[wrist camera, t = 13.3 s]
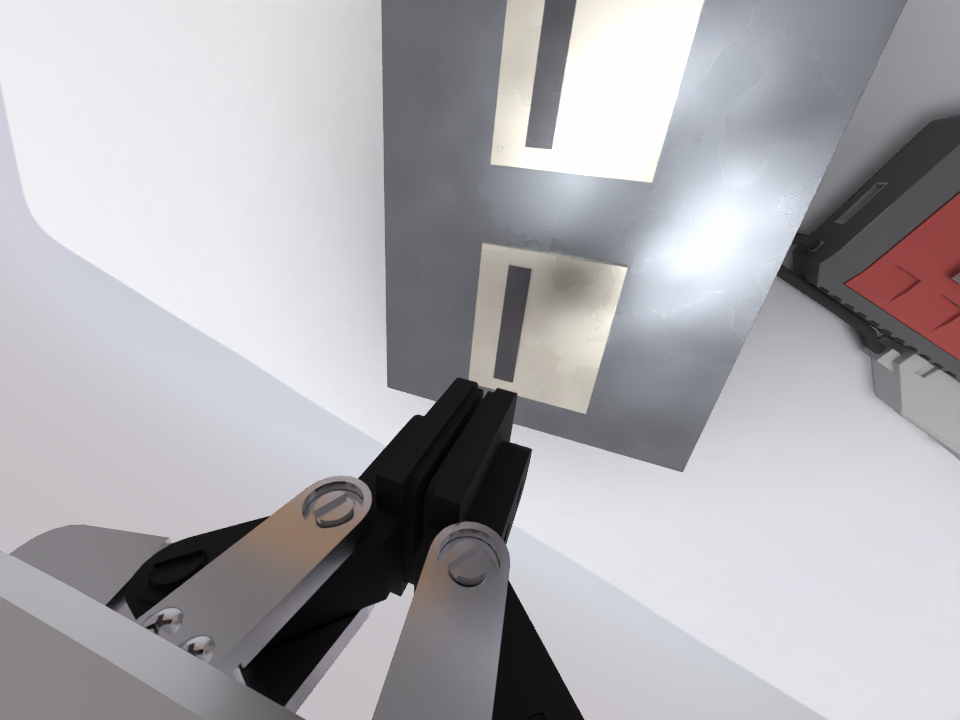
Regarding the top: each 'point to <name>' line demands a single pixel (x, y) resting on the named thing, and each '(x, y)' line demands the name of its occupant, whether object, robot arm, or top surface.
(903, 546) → the top surface
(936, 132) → the walkie-talkie
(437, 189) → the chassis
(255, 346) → the top surface
